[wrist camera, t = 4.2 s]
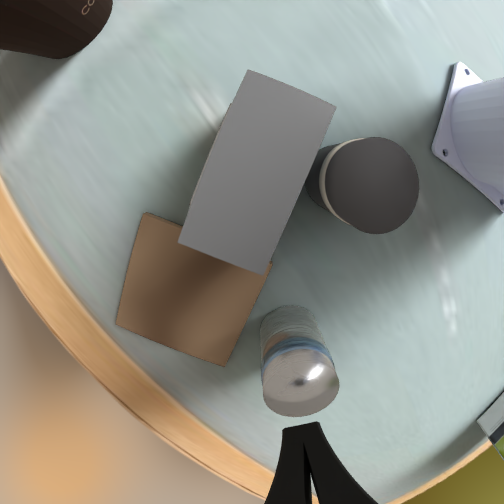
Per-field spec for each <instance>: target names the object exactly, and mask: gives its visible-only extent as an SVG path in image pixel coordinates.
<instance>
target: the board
mask: <svg viewBox="0 0 504 504" xmlns="http://www.w3.org/2000/svg"><path fill="white" fill-rule="evenodd" d="M182 228H183V226H181V225H178V224H176V223H173V222H171V221H168V220H166V219H163V218H160V217H158V216H155V215H153V214H150V213H148V212H146V213H143V216H142V219H141V222H140V226H139V229H138V233H137V236H136V240H135V243H134V247H133V250H132V254H131V258H130V262H129V266H128V270H127V274H126V278H125V282H124V287H123V291H122V295H121V300H120V305H119V309H118V314H117V319H116V325H118V326H121V327H123V328H125V329H127V330H129V331H132V332H134V333H136V334H139V335H141V336H143V337H146V338H148V339H150V340H153V341H155V342H158V343H160V344H163V345H165V346H168V347H170V348H173V349H175V350H178V351H181V352H183V353H186V354H189V355H191V356H194V357H197V358H200V359H202V360H205V361H208V362H211V363H214V364H217V365H220V366H223V367H225V365H226V363H227V361H228V359H229V357H230V355H231V353H232V350H233V348H234V346H235V344H236V342H237V340H238V338H239V336H240V334H241V332H242V329H243V327H244V325H245V323H246V321H247V319H248V317H249V315H250V312H251V310H252V308H253V306H254V304H255V302H256V300H257V298H258V295H259V293H260V291H261V289H262V287H263V285H264V282H265V280H266V278H267V276H268V274H269V272H270V269H271V267H272V265H273V264H272V261H270V262H269V264H268V266H267V268H266V271H265V273H264V275H263V276H262V275H259V274H257V273H254V272H251V271H249V270H246V269H244V268H241V267H239V266H236V265H233V264H231V263H228V262H226V261H223V260H221V259H218V258H215V257H213V256H210V255H208V254H205V253H203V252H200V251H198V250H195V249H193V248H190V247H187V246H185V245H182V244H180V243H177V242H178V239H179V236H180V234H181V231H182Z"/></svg>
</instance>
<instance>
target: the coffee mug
mask: <svg viewBox="0 0 504 504" xmlns="http://www.w3.org/2000/svg"><path fill="white" fill-rule="evenodd" d="M112 5H113V1H112V0H0V49H3V50H10V51H16V52H22V53H28V54H33V55H38V56H43V57H48V58H52V59H61V58H66V57H68V56H71V55H73V54H75V53H77V52H78V51H80V50H81V49H83V48H84V47H85V46H87V45H88V44H89V43H90V42H91V41H92V40H93V39H94V38H95V37H96V36H97V35H98V34H99V33H100V31H101V30H102V29H103V27H104V26H105V24H106V22H107V20H108V18H109V17H110V14H111V11H112Z"/></svg>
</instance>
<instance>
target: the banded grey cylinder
mask: <svg viewBox="0 0 504 504" xmlns="http://www.w3.org/2000/svg"><path fill="white" fill-rule="evenodd" d="M305 186H306V189H307V191H308V194H309V195H310V197H311V198H312V199H313V200H314V201H315V202H316V203H317V204H318V205H320V206H321V207H323V208H324V209H326V210H328V211H329V212H331V213H333V214H334V215H335V216H336V217H337V218H339V219H340V220H342V221H343V222H345V223H347V224H349V225H351V226H353V227H355V228H357V229H359V230H361V231H363V232H366V233H370V234H383V233H387V232H390V231H393V230H394V229H396V228H398V227H399V226H401V225H402V224H403V223H404V222H405V221H406V220H407V219H408V218H409V216H410V215H411V213H412V212H413V210H414V208H415V205H416V202H417V199H418V193H419V180H418V174H417V170H416V167H415V165H414V163H413V161H412V159H411V158H410V156H409V155H408V153H407V152H406V151H405V150H404V149H403V148H402V147H401V146H399V145H398V144H396V143H395V142H393V141H391V140H388V139H385V138H380V137H371V138H361V139H354V140H350V141H346V142H343V143H341V144H336V145H332V146H328V147H324V148H322V149H320V150H318V152H317V155H316V157H315V159H314V162H313V164H312V166H311V169H310V171H309V173H308V176H307V178H306V180H305Z"/></svg>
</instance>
